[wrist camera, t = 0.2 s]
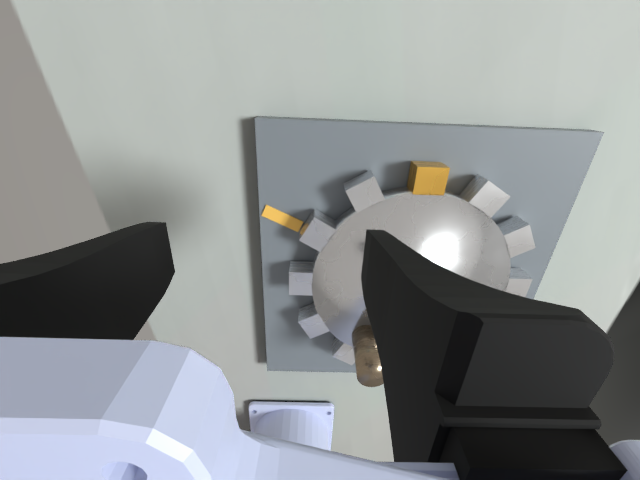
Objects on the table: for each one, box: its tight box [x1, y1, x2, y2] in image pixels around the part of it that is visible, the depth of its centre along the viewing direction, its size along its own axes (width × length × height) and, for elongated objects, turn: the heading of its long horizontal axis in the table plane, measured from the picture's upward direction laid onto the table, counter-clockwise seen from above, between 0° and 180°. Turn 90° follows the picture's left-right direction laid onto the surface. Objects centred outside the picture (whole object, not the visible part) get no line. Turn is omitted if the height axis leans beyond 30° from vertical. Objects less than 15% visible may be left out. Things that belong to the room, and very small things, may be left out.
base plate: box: [255, 116, 604, 373], centre depth 23 cm, size 20×20×1 cm
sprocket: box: [289, 161, 535, 387], centre depth 20 cm, size 16×16×5 cm
